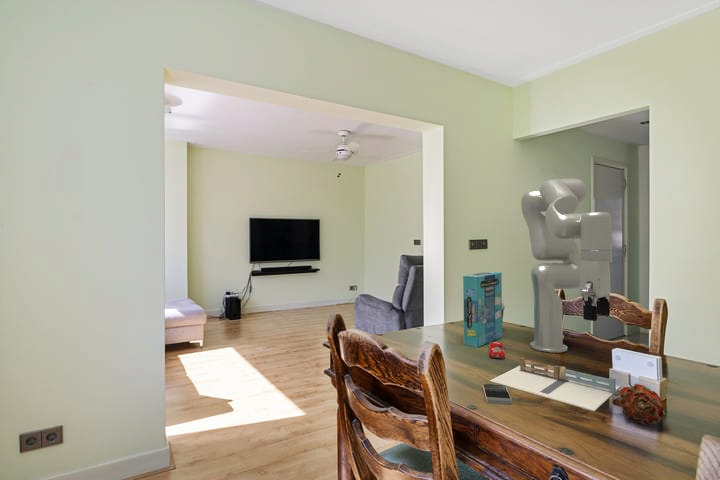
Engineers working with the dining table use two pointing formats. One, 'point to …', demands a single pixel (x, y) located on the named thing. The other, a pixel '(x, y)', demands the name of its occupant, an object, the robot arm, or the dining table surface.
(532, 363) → the fence section
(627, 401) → the dragon fruit
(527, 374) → the card
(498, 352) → the race car
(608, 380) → the panel
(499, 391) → the cell phone
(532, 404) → the dining table surface
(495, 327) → the game box
